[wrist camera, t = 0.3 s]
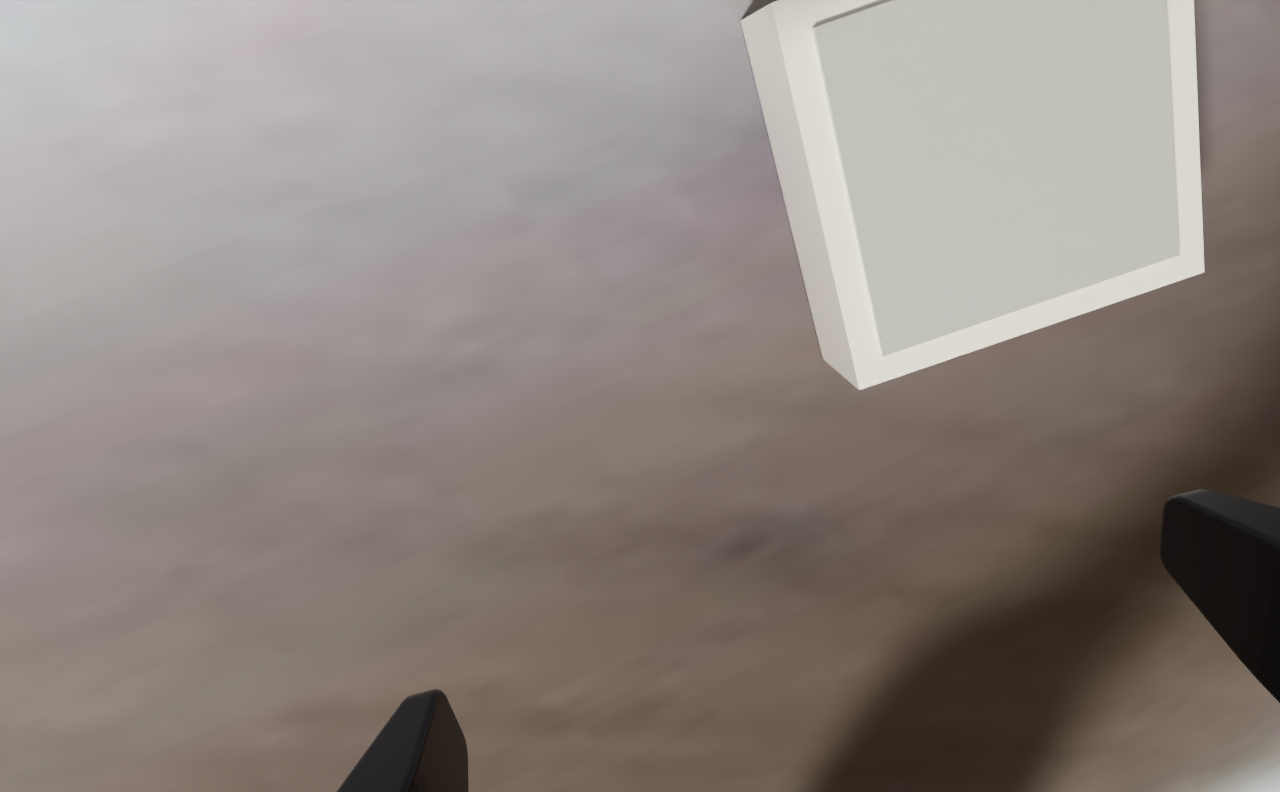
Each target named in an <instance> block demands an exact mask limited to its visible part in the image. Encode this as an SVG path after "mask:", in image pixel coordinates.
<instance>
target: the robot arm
mask: <svg viewBox="0 0 1280 792" xmlns="http://www.w3.org/2000/svg"><path fill="white" fill-rule="evenodd" d="M1160 557H1161V560H1162V563H1163V565H1164V567H1165V568H1166V570H1167V571H1168V573H1169V574H1170V575H1171V576H1172V578H1173V579H1174V580H1175V581H1176V583H1177V584H1178V585H1179V586H1180V587H1181V589H1182V590H1183V591H1184V592H1185V593H1186V595H1187V596H1188V597H1189V598H1190V600H1191V601H1192V602H1193V603H1194V604H1195V606H1196V607H1197V608H1198V609H1199V610H1200V612H1201V613H1202V614H1203V615H1204V617H1205V618H1206V619H1207V620H1208V621H1209V623H1210V624H1211V625H1212V626H1213V627H1214V629H1215V630H1216V631H1217V632H1218V634H1219V635H1220V636H1221V637H1222V638H1223V640H1224V641H1225V642H1226V643H1227V644H1228V646H1229V647H1230V648H1231V649H1232V651H1233V652H1234V653H1235V654H1236V655H1237V657H1238V658H1239V659H1240V660H1241V661H1242V662H1243V664H1244V665H1245V666H1246V667H1247V668H1248V669H1249V671H1250V672H1251V673H1252V674H1253V675H1254V676H1255V677H1256V679H1257V680H1258V681H1259V682H1260V683H1261V684H1262V685H1263V686H1264V687H1265V688H1266V689H1267V690H1268V691H1269V692H1270V693H1271V694H1272V695H1273V697H1274V698H1275V699H1276V700H1277V701H1278V702H1279V703H1280V508H1278V507H1275V506H1271V505H1267V504H1263V503H1259V502H1255V501H1251V500H1247V499H1243V498H1239V497H1235V496H1231V495H1227V494H1223V493H1219V492H1216V491H1212V490H1207V489H1199V490H1194V491H1190V492H1186V493H1182V494H1178V495H1174V496H1172V497H1170V498H1169V499H1168V500H1167V501H1166V503H1165V504H1164V508H1163V517H1162V528H1161V538H1160ZM337 792H468V753H467V746H466V741H465V738H464V735H463V732H462V730H461V728H460V726H459V723H458V721H457V719H456V717H455V715H454V712H453V710H452V708H451V706H450V704H449V701H448V699H447V697H446V695H445V694H444V693H443V692H442V691H441V690H438V689H434V690H430V691H426V692H422V693H419V694H415V695H411V696H409V697H407V698H406V699H405V700H404V701H403V702H402V703H401V704H400V706H399V707H398V708H397V710H396V711H395V713H394V714H393V715H392V717H391V718H390V719H389V721H388V722H387V724H386V725H385V726H384V728H383V729H382V730H381V732H380V733H379V734H378V736H377V737H376V739H375V740H374V741H373V743H372V744H371V745H370V747H369V748H368V749H367V751H366V752H365V754H364V755H363V756H362V758H361V759H360V760H359V762H358V763H357V765H356V766H355V767H354V769H353V770H352V771H351V773H350V774H349V775H348V777H347V778H346V780H345V781H344V782H343V784H342V785H341V786H340V788H339V789H338V791H337Z"/></svg>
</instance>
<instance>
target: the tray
mask: <svg viewBox="0 0 1280 792" xmlns="http://www.w3.org/2000/svg"><path fill="white" fill-rule="evenodd" d="M741 25H742V29H743V33H744V37H745V41H746V45H747V49H748V53H749V57H750V62H751V66H752V70H753V74H754V78H755V82H756V86H757V90H758V94H759V98H760V103H761V107H762V111H763V115H764V119H765V123H766V127H767V131H768V135H769V140H770V144H771V148H772V152H773V156H774V160H775V164H776V168H777V172H778V176H779V181H780V185H781V189H782V193H783V197H784V201H785V205H786V209H787V213H788V218H789V222H790V226H791V230H792V234H793V238H794V242H795V246H796V250H797V254H798V259H799V263H800V267H801V271H802V275H803V279H804V283H805V287H806V291H807V296H808V300H809V304H810V308H811V312H812V316H813V320H814V324H815V328H816V332H817V337H818V341H819V345H820V349H821V353H822V357H823V359H824V360H825V361H826V362H827V363H828V364H830V365H831V366H832V367H833V368H834V369H835V370H837V371H838V372H839V373H840V374H841V375H842V376H843V377H845V378H846V379H847V380H848V381H849V382H850V383H852V384H853V385H854V386H855V387H856V388H857V389H858V390H862V389H865V388H868V387H871V386H873V385H876V384H879V383H882V382H885V381H888V380H891V379H894V378H897V377H900V376H903V375H906V374H909V373H912V372H914V371H917V370H920V369H923V368H926V367H929V366H932V365H935V364H938V363H941V362H944V361H947V360H950V359H952V358H955V357H958V356H961V355H964V354H967V353H970V352H973V351H976V350H979V349H982V348H985V347H988V346H990V345H993V344H996V343H999V342H1002V341H1005V340H1008V339H1011V338H1014V337H1017V336H1020V335H1023V334H1026V333H1028V332H1031V331H1034V330H1037V329H1040V328H1043V327H1046V326H1049V325H1052V324H1055V323H1058V322H1061V321H1064V320H1067V319H1069V318H1072V317H1075V316H1078V315H1081V314H1084V313H1087V312H1090V311H1093V310H1096V309H1099V308H1102V307H1105V306H1107V305H1110V304H1113V303H1116V302H1119V301H1122V300H1125V299H1128V298H1131V297H1134V296H1137V295H1140V294H1143V293H1145V292H1148V291H1151V290H1154V289H1157V288H1160V287H1163V286H1166V285H1169V284H1172V283H1175V282H1178V281H1181V280H1183V279H1186V278H1189V277H1192V276H1195V275H1198V274H1201V273H1204V246H1203V221H1202V195H1201V169H1200V144H1199V118H1198V92H1197V67H1196V41H1195V15H1194V0H777V1H775V2H772V3H770V4H768V5H766V6H765V7H763V8H761V9H759V10H758V11H756V12H754V13H753V14H751V15H749V16H748V17H746V18H744V19H742V20H741Z"/></svg>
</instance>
